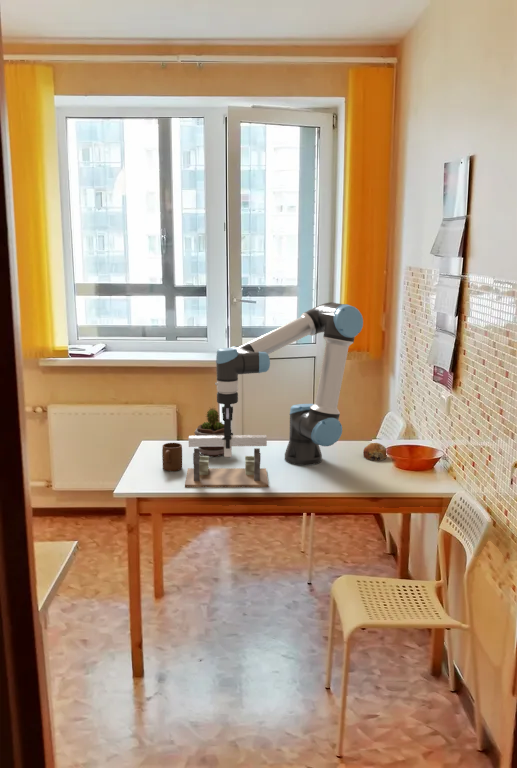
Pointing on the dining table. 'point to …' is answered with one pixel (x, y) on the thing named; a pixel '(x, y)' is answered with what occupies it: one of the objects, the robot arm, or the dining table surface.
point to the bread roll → (374, 452)
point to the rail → (218, 442)
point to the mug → (172, 456)
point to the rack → (226, 473)
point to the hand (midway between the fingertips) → (227, 454)
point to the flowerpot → (211, 433)
